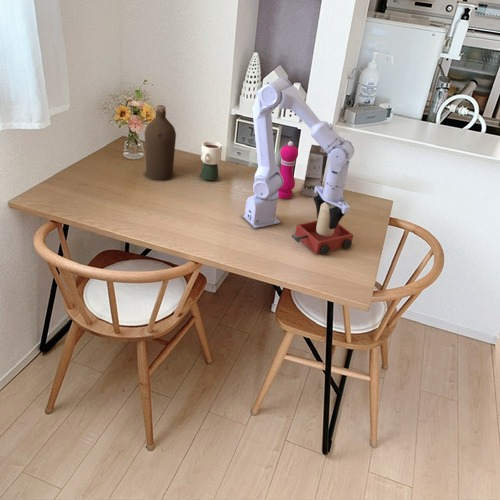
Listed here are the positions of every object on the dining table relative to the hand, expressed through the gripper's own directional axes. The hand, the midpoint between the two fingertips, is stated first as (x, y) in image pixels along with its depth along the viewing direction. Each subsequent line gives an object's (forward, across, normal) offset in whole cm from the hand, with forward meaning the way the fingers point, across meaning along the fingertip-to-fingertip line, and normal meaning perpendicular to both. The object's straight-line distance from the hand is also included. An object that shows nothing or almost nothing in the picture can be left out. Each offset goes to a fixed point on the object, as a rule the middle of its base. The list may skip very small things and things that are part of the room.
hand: (326, 223), depth 161 cm
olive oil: (+6, +58, +30) cm, 66 cm away
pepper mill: (+6, +30, -5) cm, 32 cm away
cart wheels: (+6, 0, +3) cm, 7 cm away
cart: (+6, 0, 0) cm, 6 cm away
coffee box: (+6, +30, -17) cm, 35 cm away
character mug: (+6, +50, +14) cm, 53 cm away
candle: (+3, 0, 0) cm, 3 cm away
